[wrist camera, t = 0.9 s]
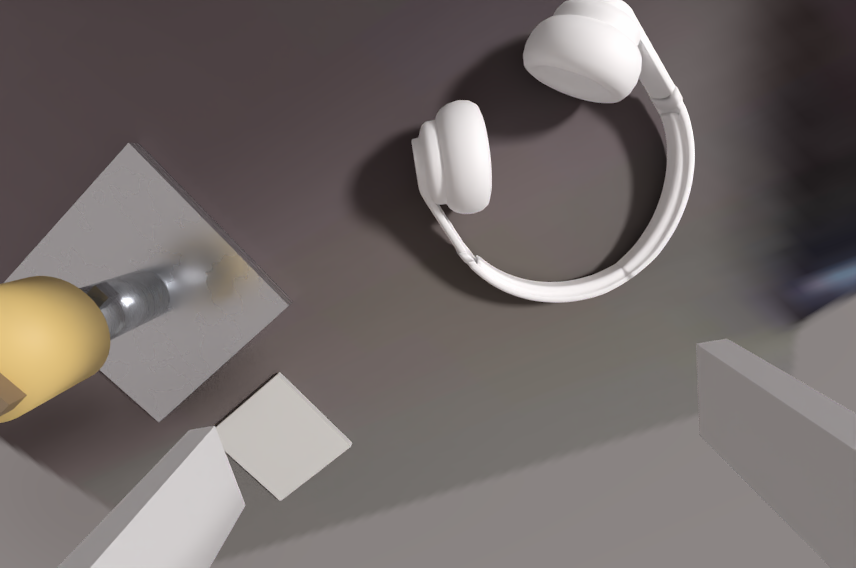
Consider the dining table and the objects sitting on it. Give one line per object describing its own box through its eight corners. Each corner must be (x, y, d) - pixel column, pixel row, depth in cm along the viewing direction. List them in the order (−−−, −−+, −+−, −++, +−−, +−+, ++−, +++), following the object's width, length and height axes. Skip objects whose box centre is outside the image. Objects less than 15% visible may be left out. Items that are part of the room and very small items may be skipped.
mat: (210, 431, 41) (207, 435, 40) (279, 371, 39) (277, 374, 39) (282, 496, 43) (280, 501, 42) (352, 442, 41) (350, 446, 40)
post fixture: (16, 280, 38) (-131, 316, 28) (139, 143, 34) (20, 130, 25) (166, 415, 41) (81, 489, 31) (293, 301, 37) (241, 344, 28)
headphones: (384, 157, 34) (521, 328, 39) (375, 162, 26) (547, 373, 32) (587, -18, 30) (706, 197, 36) (645, -70, 23) (785, 213, 28)
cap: (-25, 324, 28) (-147, 363, 22) (41, 252, 26) (-72, 273, 21) (66, 401, 29) (-27, 457, 23) (133, 336, 28) (51, 378, 22)
